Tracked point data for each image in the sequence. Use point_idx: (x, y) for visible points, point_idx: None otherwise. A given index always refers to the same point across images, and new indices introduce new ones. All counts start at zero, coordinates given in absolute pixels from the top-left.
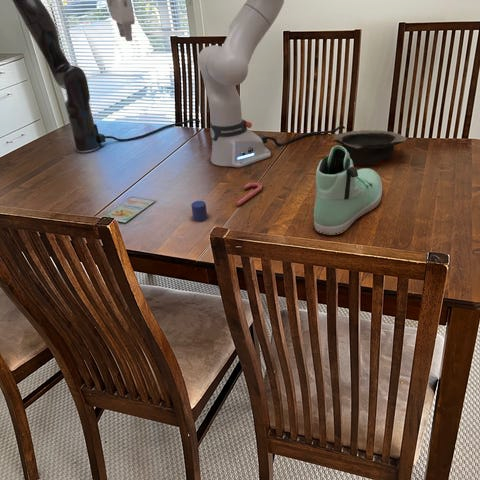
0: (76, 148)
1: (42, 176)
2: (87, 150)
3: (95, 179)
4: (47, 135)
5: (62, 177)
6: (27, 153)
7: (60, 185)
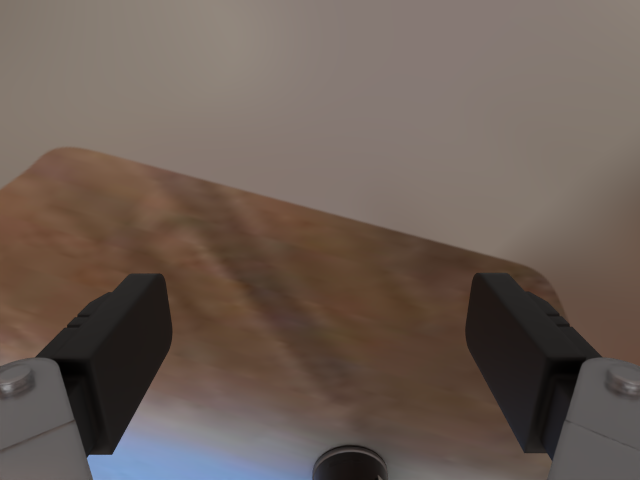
0: (357, 455)
1: (223, 307)
2: (316, 468)
3: None
4: None
5: None
6: None
7: None
